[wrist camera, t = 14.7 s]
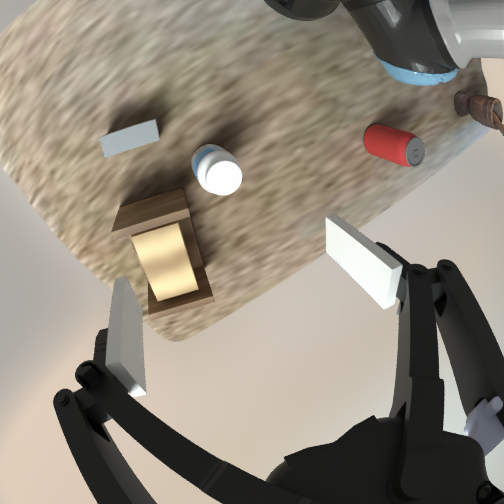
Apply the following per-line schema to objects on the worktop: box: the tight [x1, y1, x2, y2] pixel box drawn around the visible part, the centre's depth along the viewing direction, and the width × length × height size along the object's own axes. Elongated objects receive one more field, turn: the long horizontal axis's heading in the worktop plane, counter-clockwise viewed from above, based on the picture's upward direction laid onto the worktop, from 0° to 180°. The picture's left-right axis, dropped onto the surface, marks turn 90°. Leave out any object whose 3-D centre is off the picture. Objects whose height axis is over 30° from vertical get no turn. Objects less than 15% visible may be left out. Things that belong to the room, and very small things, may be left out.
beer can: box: [364, 124, 425, 167], centre depth 46 cm, size 7×7×12 cm
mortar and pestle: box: [454, 92, 504, 136], centre depth 45 cm, size 12×9×20 cm
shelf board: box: [131, 220, 198, 301], centre depth 42 cm, size 12×7×4 cm, turn 9°
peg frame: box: [111, 188, 215, 320], centre depth 44 cm, size 16×11×10 cm
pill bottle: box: [191, 144, 242, 195], centre depth 39 cm, size 6×6×11 cm
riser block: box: [99, 118, 160, 158], centre depth 35 cm, size 3×8×6 cm, turn 99°
